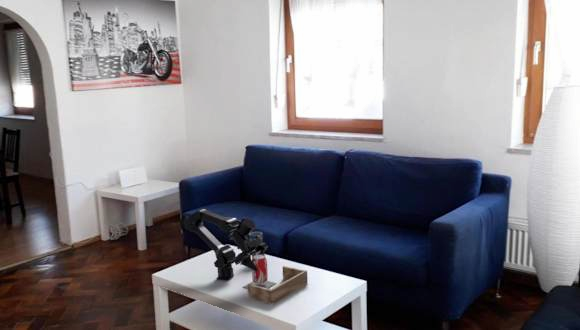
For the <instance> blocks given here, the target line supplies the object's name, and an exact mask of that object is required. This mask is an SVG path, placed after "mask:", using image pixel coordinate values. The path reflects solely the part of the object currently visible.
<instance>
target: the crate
mask: <svg viewBox="0 0 580 330" xmlns="http://www.w3.org/2000/svg"><path fill="white" fill-rule="evenodd" d="M282 279H283V280H285V281H283V282H282V283H280V284H277V285H276V286H274V287H273V288H272V287H271V288H264V287H260V286H256V285H252V284H249V283H247V284H248V289H247V297H248V299H252V300H255V301H258V302H262V303H266V304H269V305H273V304H275V303H277V302H279V301H280V300H282V299H284V298H285V297H287V296H289V295H290V294H292V293H293V292H296V291H297V290H298V289H300V288H302V287H304V286H306V285H307V284H308V282H309V281H308V271H307V270H305V269H300V268H297V267H291V266H286V265H283V266H282Z"/></svg>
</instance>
